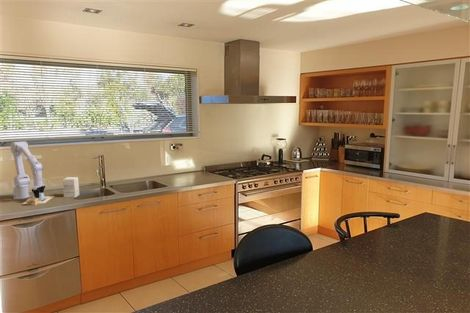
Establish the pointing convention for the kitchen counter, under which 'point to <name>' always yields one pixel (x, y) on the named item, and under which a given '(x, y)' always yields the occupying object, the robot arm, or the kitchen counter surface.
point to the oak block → (32, 201)
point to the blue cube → (40, 196)
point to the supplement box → (71, 187)
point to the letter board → (44, 199)
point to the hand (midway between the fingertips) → (39, 196)
